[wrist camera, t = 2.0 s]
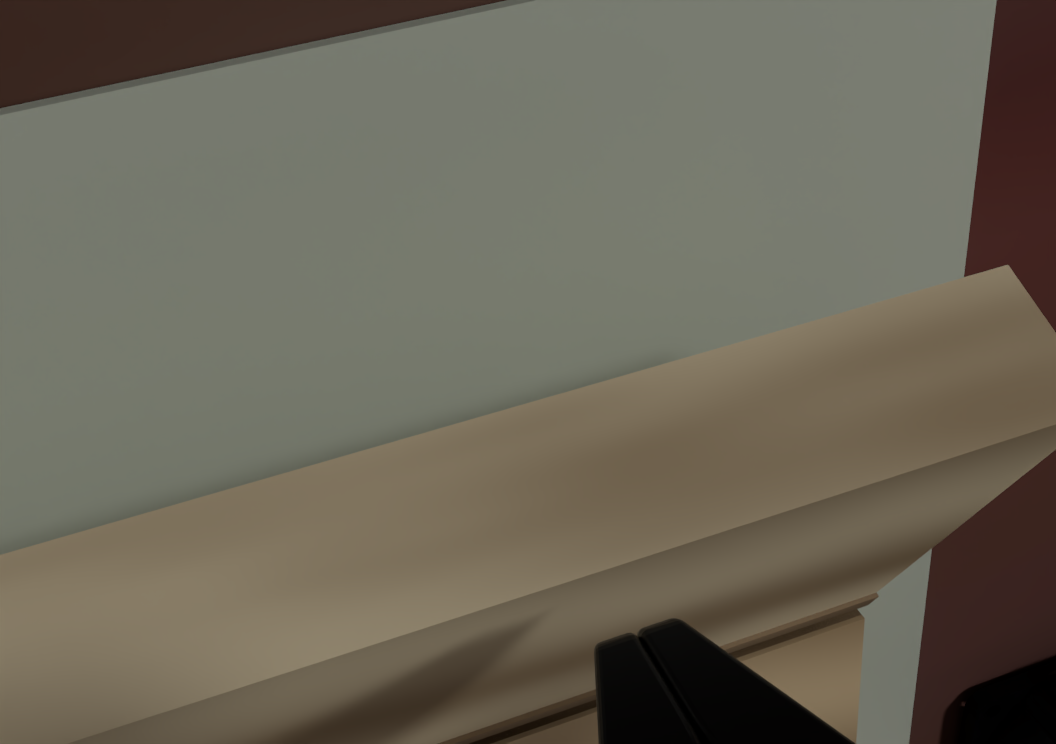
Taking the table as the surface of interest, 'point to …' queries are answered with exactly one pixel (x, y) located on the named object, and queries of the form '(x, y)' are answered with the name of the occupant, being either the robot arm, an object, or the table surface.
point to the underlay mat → (464, 238)
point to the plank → (536, 539)
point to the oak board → (785, 661)
